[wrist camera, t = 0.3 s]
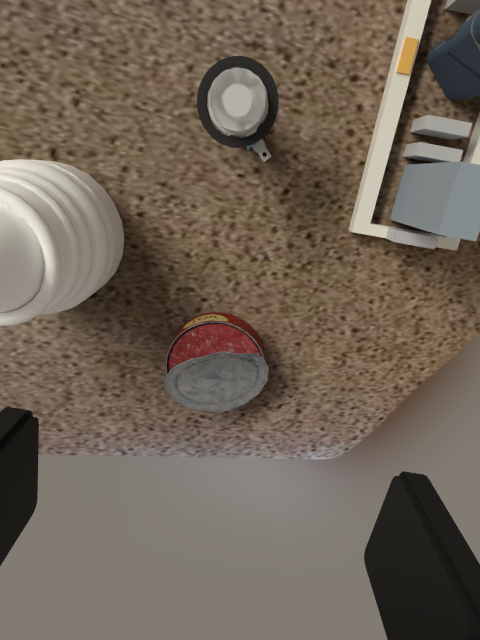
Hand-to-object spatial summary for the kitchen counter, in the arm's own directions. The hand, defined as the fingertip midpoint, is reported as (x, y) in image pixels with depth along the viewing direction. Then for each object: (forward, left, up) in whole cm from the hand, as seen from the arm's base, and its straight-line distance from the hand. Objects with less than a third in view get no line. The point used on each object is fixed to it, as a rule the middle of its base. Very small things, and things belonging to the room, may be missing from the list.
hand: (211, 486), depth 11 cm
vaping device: (-18, +15, -31) cm, 39 cm away
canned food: (+11, 0, -31) cm, 32 cm away
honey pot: (+1, -17, -31) cm, 35 cm away
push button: (-11, -1, -31) cm, 33 cm away
